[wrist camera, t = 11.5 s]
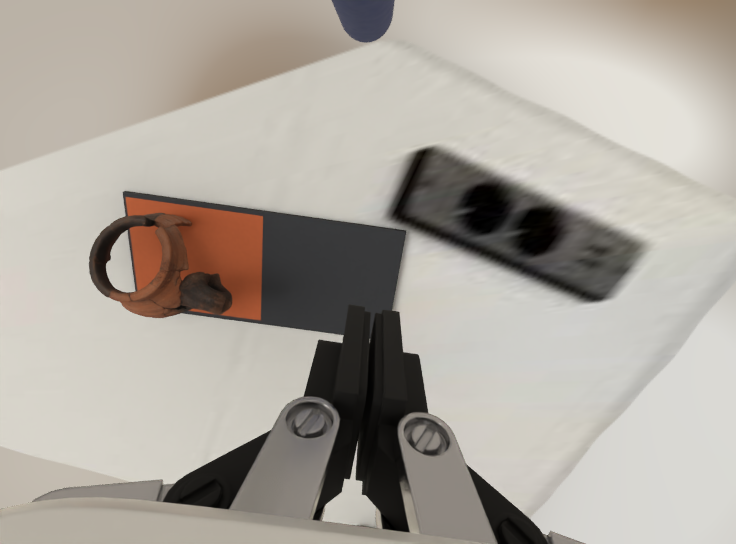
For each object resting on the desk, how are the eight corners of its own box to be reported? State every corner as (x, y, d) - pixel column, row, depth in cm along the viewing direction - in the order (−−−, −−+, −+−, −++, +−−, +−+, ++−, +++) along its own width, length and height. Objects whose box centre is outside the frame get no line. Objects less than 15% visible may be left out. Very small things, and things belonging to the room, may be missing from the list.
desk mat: (125, 191, 33) (122, 191, 33) (406, 230, 34) (406, 231, 33) (139, 305, 38) (137, 307, 38) (386, 338, 38) (386, 340, 38)
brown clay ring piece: (136, 298, 38) (59, 293, 29) (173, 215, 38) (107, 186, 30) (236, 342, 36) (183, 349, 28) (273, 253, 36) (232, 234, 28)
